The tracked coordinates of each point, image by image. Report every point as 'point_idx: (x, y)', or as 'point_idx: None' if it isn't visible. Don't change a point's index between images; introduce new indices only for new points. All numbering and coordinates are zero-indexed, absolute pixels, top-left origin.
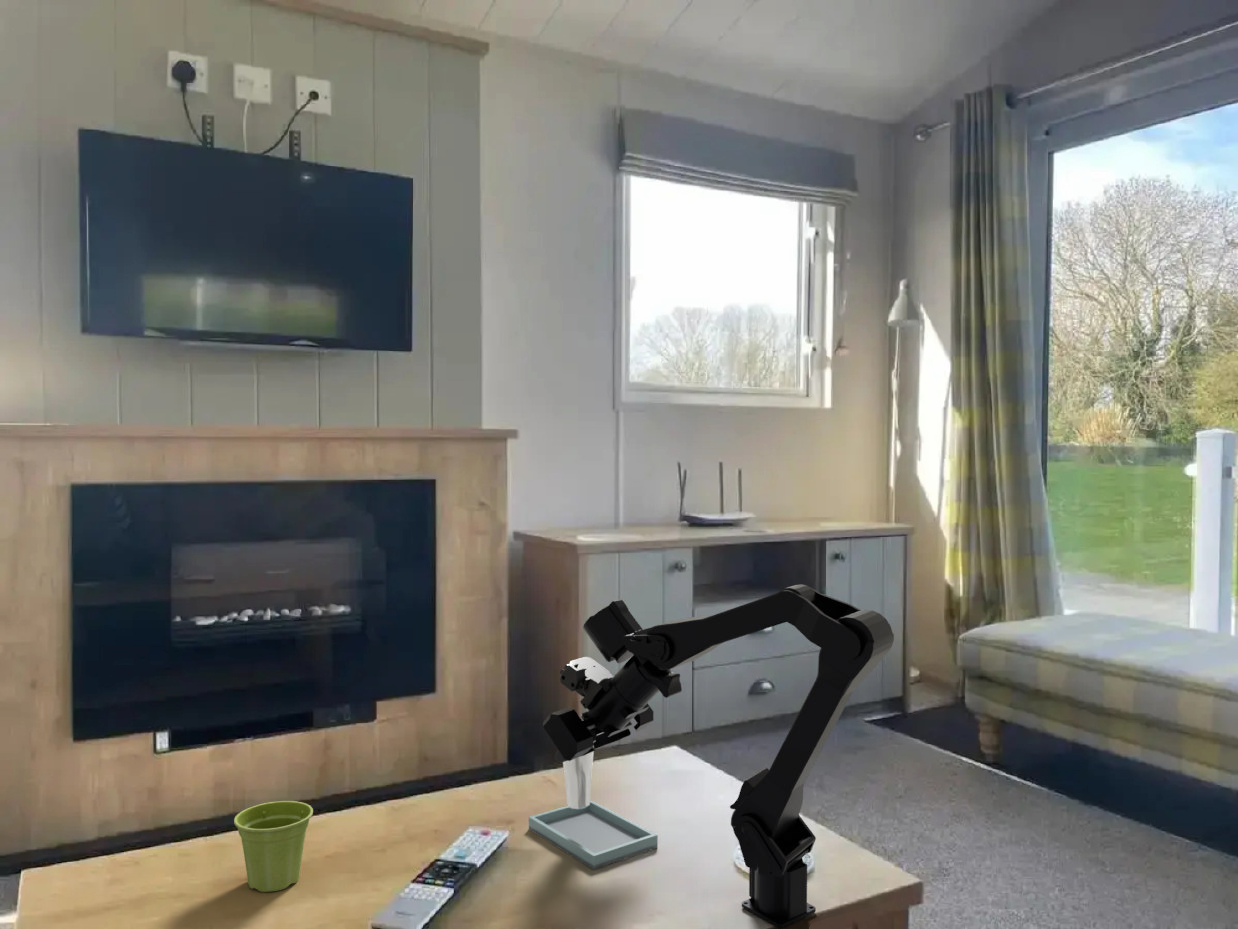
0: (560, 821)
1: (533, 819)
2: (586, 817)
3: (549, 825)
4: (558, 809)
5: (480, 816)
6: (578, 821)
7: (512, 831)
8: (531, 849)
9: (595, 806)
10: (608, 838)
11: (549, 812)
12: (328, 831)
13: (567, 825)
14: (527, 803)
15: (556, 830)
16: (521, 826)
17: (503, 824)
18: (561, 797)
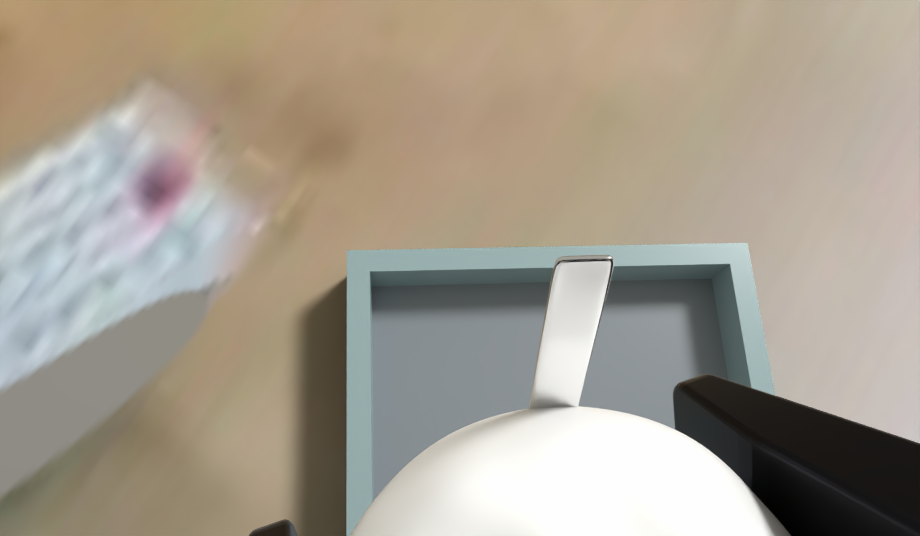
0: (514, 313)
1: (349, 291)
2: (655, 349)
3: (439, 324)
4: (534, 257)
5: (248, 26)
6: (593, 368)
7: (274, 245)
8: (226, 486)
9: (737, 323)
10: None
11: (470, 264)
12: None
13: (519, 377)
14: (506, 27)
15: (370, 500)
16: (342, 221)
17: (284, 155)
18: (677, 57)
